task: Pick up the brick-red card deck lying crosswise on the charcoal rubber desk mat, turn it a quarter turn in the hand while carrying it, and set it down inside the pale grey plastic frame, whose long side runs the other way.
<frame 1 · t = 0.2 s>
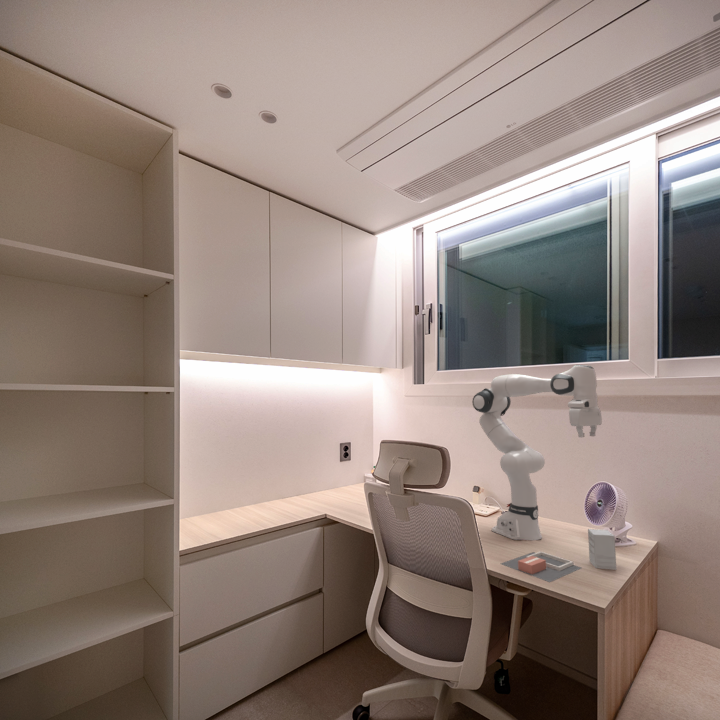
hand: (587, 436, 174), 48 cm above the table, fingers open, 8 cm apart
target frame: (549, 562, 162), resting on desk mat
desk mat: (540, 566, 158), on the table
card deck: (532, 569, 155), resting on desk mat
supplement box: (602, 566, 159), on the table
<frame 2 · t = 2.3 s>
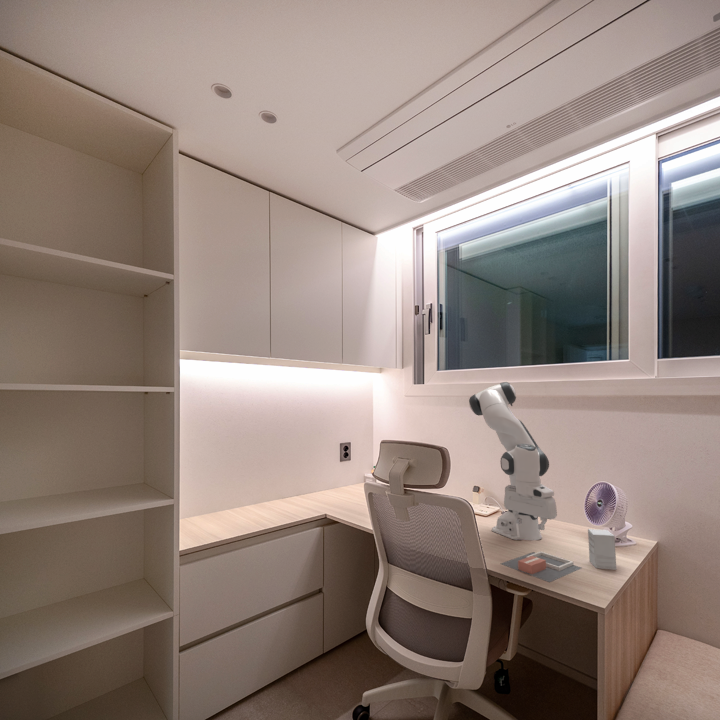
hand: (529, 526, 157), 16 cm above the table, fingers open, 8 cm apart
nothing on the table moved.
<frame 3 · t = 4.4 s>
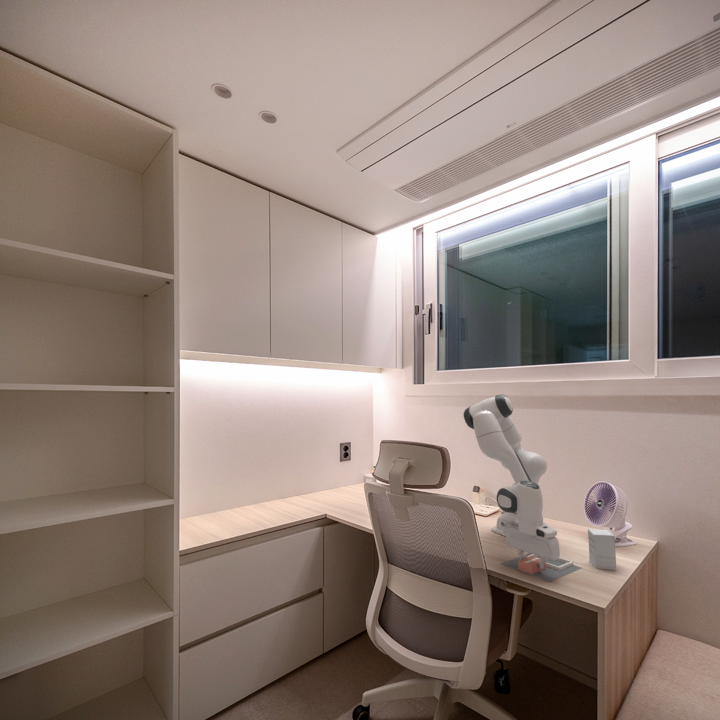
hand: (531, 565, 156), 2 cm above the table, fingers closed on card deck, 5 cm apart
card deck: (532, 568, 155), resting on desk mat, touching gripper
everything else where it was.
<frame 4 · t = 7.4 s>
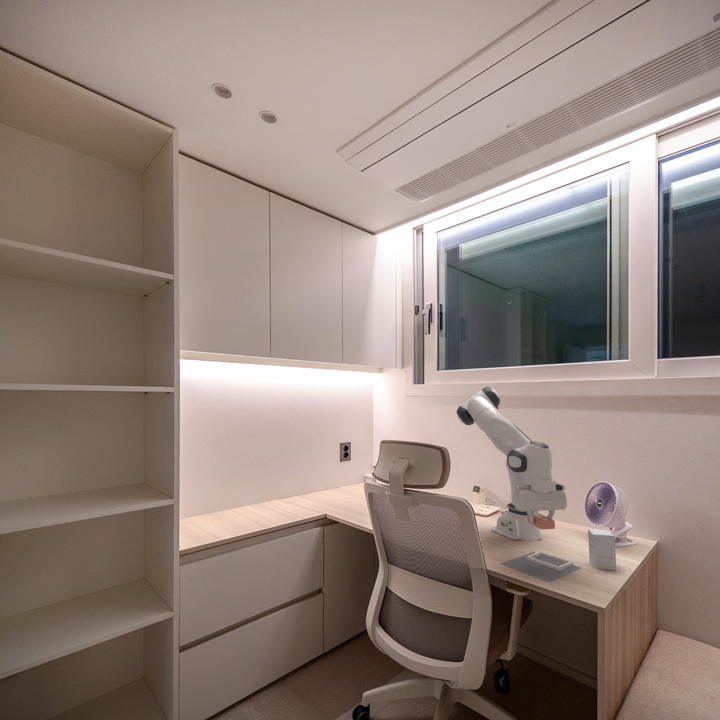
hand: (541, 522, 161), 16 cm above the table, fingers closed on card deck, 5 cm apart
card deck: (540, 525, 161), point 15 cm above the table, touching gripper
everything else where it was.
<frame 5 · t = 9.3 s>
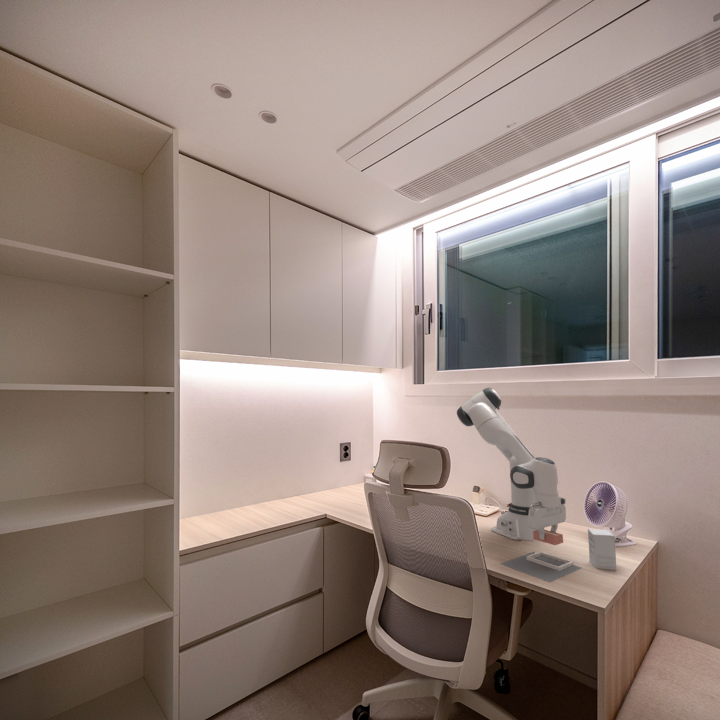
hand: (548, 537, 163), 10 cm above the table, fingers closed on card deck, 5 cm apart
card deck: (548, 540, 163), point 8 cm above the table, touching gripper
everything else where it was.
when the fingers open (3 cm above the table, at t = 10.9 s): card deck drops 1 cm, resting on desk mat.
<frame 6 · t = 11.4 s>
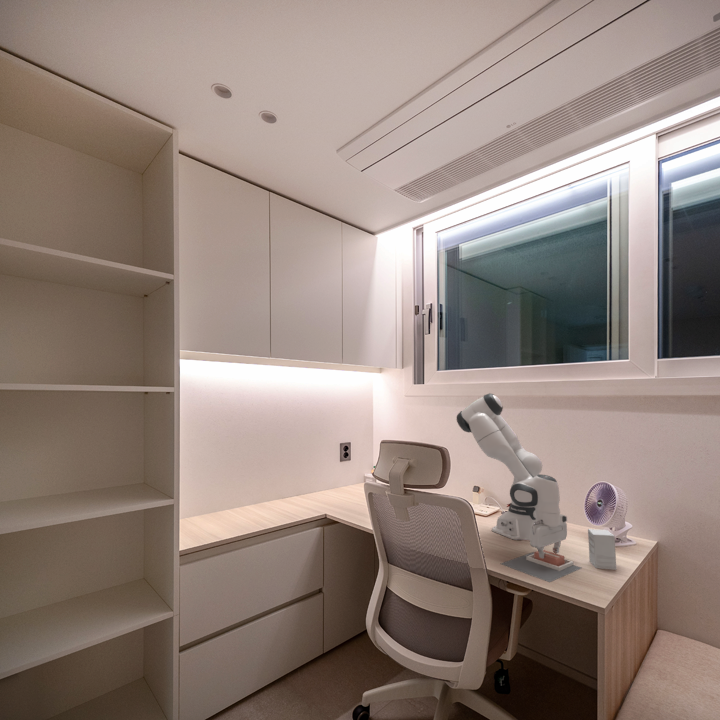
hand: (549, 555, 162), 3 cm above the table, fingers open, 8 cm apart
card deck: (549, 562, 162), resting on desk mat
everything else where it was.
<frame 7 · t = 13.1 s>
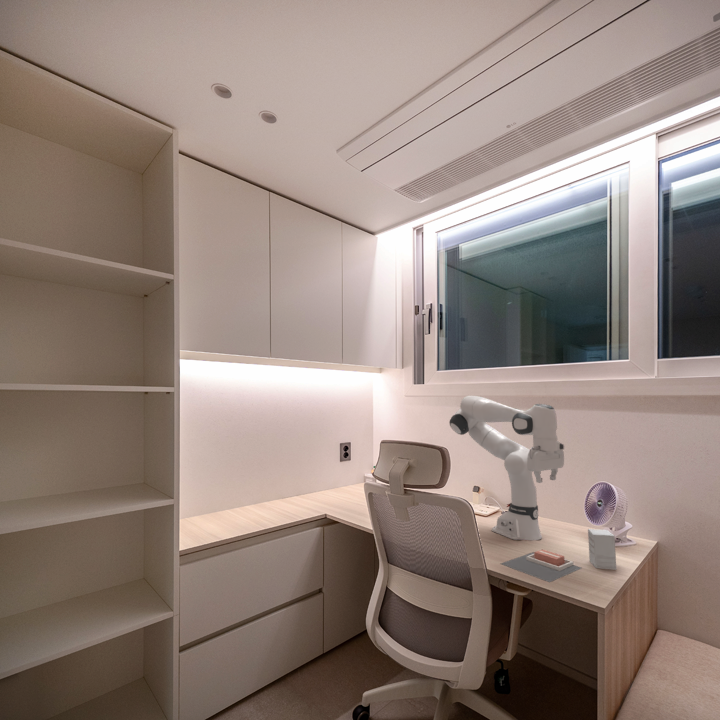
hand: (546, 481, 165), 31 cm above the table, fingers open, 8 cm apart
nothing on the table moved.
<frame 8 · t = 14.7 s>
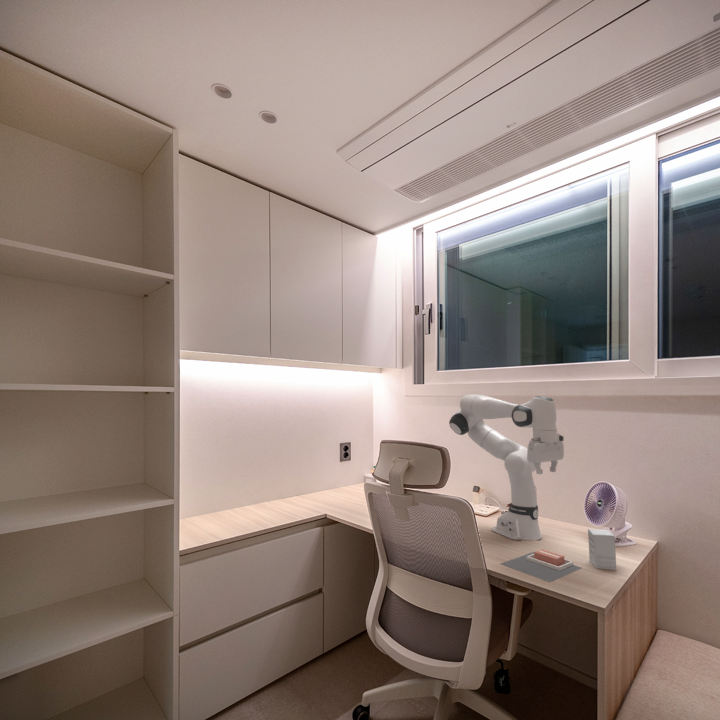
hand: (546, 472, 165), 34 cm above the table, fingers open, 8 cm apart
nothing on the table moved.
at the end: card deck 0.0 cm off-centre on the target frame, point 0.0 cm above the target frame's base; card deck tilted 0°; the gripper is holding nothing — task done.
